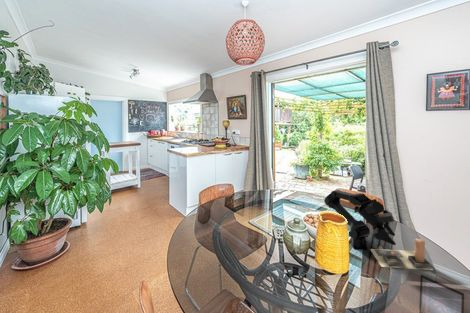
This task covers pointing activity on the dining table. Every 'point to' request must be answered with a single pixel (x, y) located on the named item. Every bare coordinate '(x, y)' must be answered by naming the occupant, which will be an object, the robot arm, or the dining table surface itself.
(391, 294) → the dining table surface
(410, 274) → the dining table surface
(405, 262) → the pin board
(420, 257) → the terracotta pin
